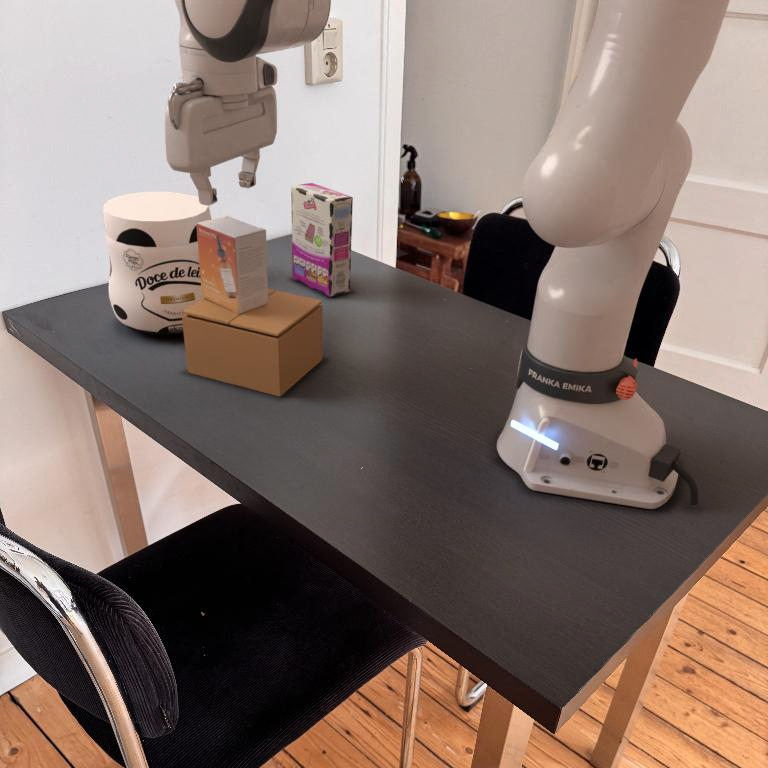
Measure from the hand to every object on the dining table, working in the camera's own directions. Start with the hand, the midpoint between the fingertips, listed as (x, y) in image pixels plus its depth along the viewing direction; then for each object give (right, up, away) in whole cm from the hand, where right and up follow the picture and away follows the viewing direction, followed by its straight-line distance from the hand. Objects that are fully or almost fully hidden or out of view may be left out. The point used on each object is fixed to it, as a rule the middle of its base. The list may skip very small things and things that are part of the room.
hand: (228, 195), depth 102 cm
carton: (+1, -20, +13) cm, 24 cm away
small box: (-1, -12, +9) cm, 15 cm away
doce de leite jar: (-14, -11, +24) cm, 30 cm away
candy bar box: (+9, 0, +40) cm, 41 cm away
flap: (+5, -14, +7) cm, 16 cm away
